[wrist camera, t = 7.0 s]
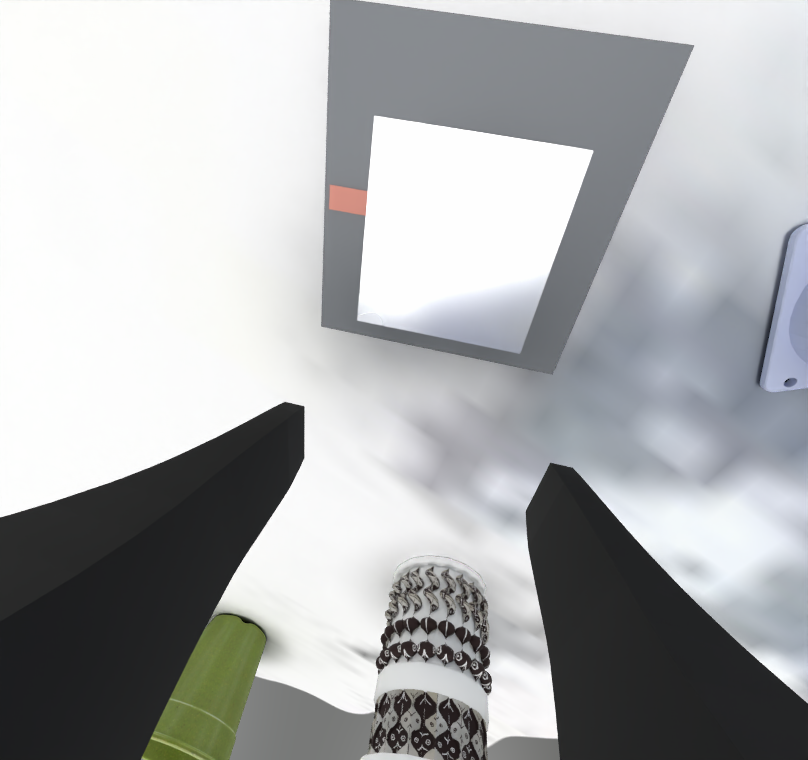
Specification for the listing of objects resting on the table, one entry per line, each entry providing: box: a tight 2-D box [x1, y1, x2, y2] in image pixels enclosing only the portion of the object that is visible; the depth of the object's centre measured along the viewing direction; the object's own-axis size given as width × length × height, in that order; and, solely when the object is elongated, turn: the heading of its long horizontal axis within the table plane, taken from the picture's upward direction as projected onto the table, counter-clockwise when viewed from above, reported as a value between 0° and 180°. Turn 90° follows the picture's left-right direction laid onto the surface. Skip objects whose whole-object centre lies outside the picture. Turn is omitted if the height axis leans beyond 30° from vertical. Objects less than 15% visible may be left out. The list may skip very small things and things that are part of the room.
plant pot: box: [142, 615, 266, 760], centre depth 36 cm, size 12×12×11 cm
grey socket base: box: [321, 0, 694, 374], centre depth 14 cm, size 13×13×5 cm
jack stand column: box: [357, 116, 593, 354], centre depth 8 cm, size 3×3×7 cm
